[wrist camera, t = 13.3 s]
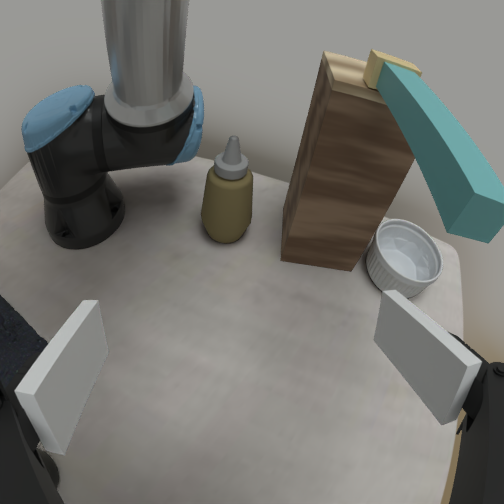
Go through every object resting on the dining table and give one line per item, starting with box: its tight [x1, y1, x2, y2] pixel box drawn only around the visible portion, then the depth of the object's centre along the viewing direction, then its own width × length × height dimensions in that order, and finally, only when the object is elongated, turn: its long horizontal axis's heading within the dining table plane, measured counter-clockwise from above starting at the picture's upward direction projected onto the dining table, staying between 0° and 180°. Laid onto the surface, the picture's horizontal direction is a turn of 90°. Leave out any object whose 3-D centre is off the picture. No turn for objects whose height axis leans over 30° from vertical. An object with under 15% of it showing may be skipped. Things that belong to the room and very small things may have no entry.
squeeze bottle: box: [201, 136, 253, 243], centre depth 47 cm, size 8×8×18 cm
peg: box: [363, 49, 504, 243], centre depth 21 cm, size 23×5×4 cm, turn 174°
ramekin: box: [366, 219, 443, 298], centre depth 50 cm, size 13×13×7 cm
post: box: [281, 51, 415, 271], centre depth 43 cm, size 12×12×30 cm
